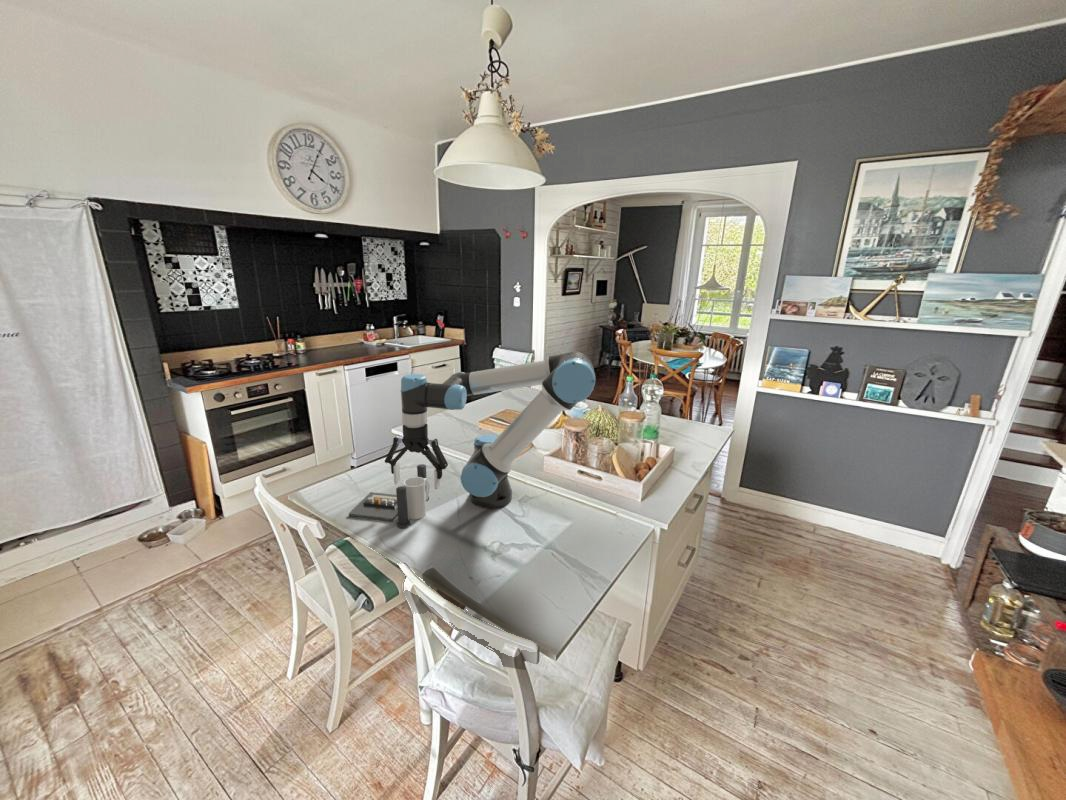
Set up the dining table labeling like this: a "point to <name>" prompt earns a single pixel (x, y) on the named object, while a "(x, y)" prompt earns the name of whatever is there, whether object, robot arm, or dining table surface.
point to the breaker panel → (377, 507)
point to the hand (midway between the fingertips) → (417, 484)
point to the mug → (416, 496)
